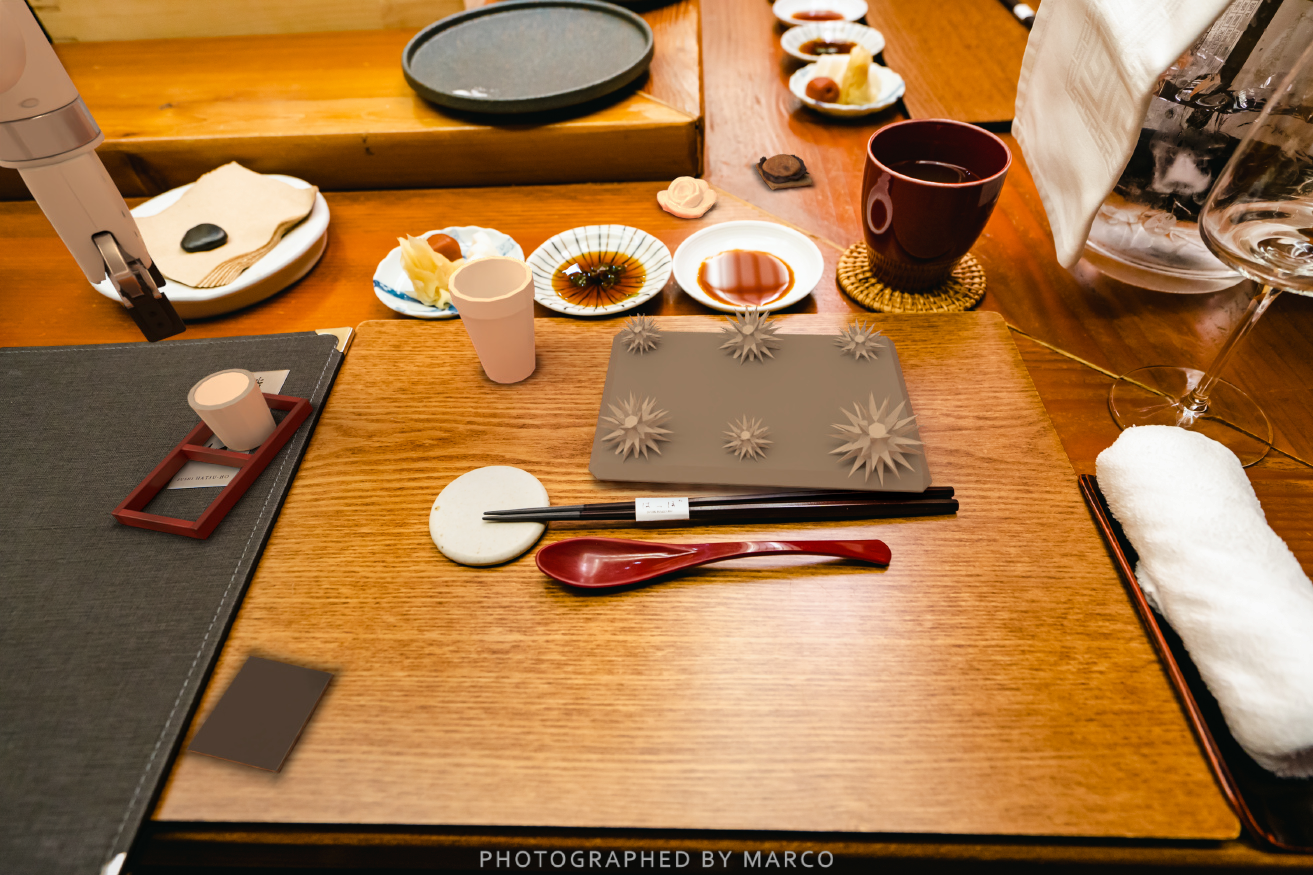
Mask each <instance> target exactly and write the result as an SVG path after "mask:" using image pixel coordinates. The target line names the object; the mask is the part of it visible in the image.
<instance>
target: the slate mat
mask: <svg viewBox="0 0 1313 875" xmlns="http://www.w3.org/2000/svg"><path fill="white" fill-rule="evenodd" d="M334 676H335V675H334V673H332V672H327V671H323V670H318V669H313V668H309V667H306V666H305V667H304V666H300V665H295V664H290V663H286V662H281V661H277V660H271V659H268V658H263V657H258V656H254V655H249V656H248V657H247V659H246V660H245V662H244V663H243V664H242V666H241V667H240V669H239V671H237V674H236V675H235V677H234V678H233V679H232V681H231V683H230V684H229V685H228V687H227V688H226V691H224V693H223V694H222V696H221V697H220V699H219V700H218V702H217V703H216V705H215V706H214V708H213V709H212V711H211V712H210V714H209V715H208V717H207V718H206V720H205V721H204V722H203V724H202V725H201V727H200V729H198V732H197V733H196V734H195V736H194V738H193V739H192V740H191V742H190V743H189V745H187V747H186V750H187V751H189V752H191V753H196V754H201V755H204V756H207V757H212V758H215V759H220V760H225V761H229V762H233V763H236V764H240V765H244V766H249V767H252V768H256V769H260V770H264V771H269V772H272V773H276V774H278V773H280V770H281V769H282V767H283V765H284V764H285V762H286V760H287V759H288V757H289V755H290V753H291V752H292V750H293V749H294V747H295V745H296V743H297V741H298V739H300V736H301V734H302V732H303V731H304V729H305V727H306V726H307V724H308V722H309V720H310V718H311V717H312V715H313V714H314V711H315V710H316V708H317V707H318V705H319V703H320V701H321V699H322V698H323V696H324V694H325V693H326V690H327V689H328V687H329V685H330V684H331V682H332V680H333V678H334Z"/></svg>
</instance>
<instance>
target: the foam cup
mask: <svg viewBox="0 0 1313 875" xmlns="http://www.w3.org/2000/svg"><path fill="white" fill-rule="evenodd" d="M447 285H448V286H447V288H448V292H449V295H450V298H451V301H452V305H453V306H454V308H455V309H456V310H457V312H458V314H459V317H460V319H461V322H462V323H463V326H464V328H465V330H466V332H467V335H468V337H469V339H470V341H471V343H472V346H473V348H474V351H475V353H476V355H477V357H478V359H479V362H480V364H481V366H482V368H483V370H484V372H485V374H486V376H487V377H488V379H489V380H490V381H494V382H496V383H498V384H514V383H518V382H522V381H524V380H525V379H527V378H528V377H530V376H531V375H532V374H533V372H534V371H535V370H536V335H535V307H534V306H535V304H534V299H535V297H536V284H535V280H534V275H533V269H532V268H531V266H529V265H528V263H526V262H525V261H524V260H521V259H519V258H515V257H513V256H504V255H503V256H502V255H501V256H500V255H490V256H485V257H480V258H476V259H472V260H469V261H468V262H466V263H464V264H462V265H460V266H458V267H457V268H456V269H455V271H454V272H452V274H450V276H449V278H448V284H447Z"/></svg>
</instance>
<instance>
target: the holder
mask: <svg viewBox="0 0 1313 875" xmlns="http://www.w3.org/2000/svg"><path fill="white" fill-rule="evenodd" d="M261 392H262V394H263V397H264V399H265V401H266V403H267V406H268V408H269V409H275V410H279V411H287V412H288V414H287V415H286V416H285V417H284V418H283V420H281V422H280V423H279V424H278V425H277V426H276V429H275V430H274V431H273V432H272V434H271V435H270V436H269V437H268V438H267V439H266V441H265V442H264V443H263V444H262V445H261V446H259V447H258V449H256V451H255V452H254V453H253V454H252V453H247V452H246V453H245V452H240V451H234V450H227V449H221V448H213V447H208V446H203V445H204V444H205V443H206V442H207V441H208V440H209V439H210V438H211V437H212V436H213V434H215V433H214V432H213V431H212V430H211V429H210V428H209V426H208V425H207V424H206V423H205V422H204V421H203V420H202V419H201V420H200V421H199V423H197V424H196V426H194V428H193V429H191V431H189V432H188V434H187V435H186V436H184V438H183V439H182V440H181V441H180V442H179V443H178V444H177V445H176V446H175V447H174V448H173V449H172V450H171V451H170V452H169V453H168V454H167V455H166V456H165V457H164V458H163V459H162V460H161V461H160V462H159V463H158V464H157V465H156V467H154V468H153V469H152V470H151V472H149V474H147V475H146V477H145V478H143V480H141V482H140V483H139V484H137V486H136V487H135V488H134V489H133V490H132V491H131V492H129V494H128V495H126V497H125V498H124V499H123V500H122V501H121V502H120V503H119V504H118V505H117V506H116V507H115V508H114V509H113V510H112V511H111V513H110V514H111V516H113V517H114V519H115V520H116V521H117V522H118V523H119V524H120V525H124V526H129V527H130V526H131V527H136V528H140V529H146V530H151V531H155V532H162V533H167V534H172V535H178V536H183V537H189V538H193V539H200V540H207V539H208V538H209V536H210V535H211V534H212V533H213V531H214V530H215V529H216V528H217V526H219V524H220V523H221V522H222V520H224V518H225V516H227V515H228V513H230V511H231V510H232V508H233V507H234V506H235V505H236V504H237V503H238V501H239V500H240V499H241V498H242V496H244V495H245V493H246V492H247V491H248V489H249V488H250V487H251V486H252V484H254V482H255V481H256V479H257V478H258V477H259V476H260V475H261V473H263V471H264V470H265V469H266V468H267V466H268V465H269V464H270V463H271V462H272V460H273V459H274V458H275V457H276V455H277V454H278V453H280V451H281V450H282V448H284V446H285V444H287V443H288V441H289V440H290V439H291V437H292V436H293V435H294V434H295V432H297V430H299V428H300V426H301V425H302V424H303V423H304V422H305V421H306V420H307V418H308V417H309V416H310V415H311V414H312V412H313V411H314V408H313V406H312V404H311V403H310V401H309V398H304V397H297V396H291V395H286V394H285V395H284V394H276V393H270V392H263V391H261ZM189 460H191V461H197V462H202V463H208V464H214V465H220V466H227V467H231V468H240V469H239V471H238V472H237V473H236V474H235V476H233V478H232V479H231V480H230V481H229V482H228V484H226V486H225V487H224V488H223V489H222V491H220V493H219V494H218V495H217V496H216V497H215V498H214V500H212V502H211V503H210V504H209V506H207V508H206V509H205V510H204V511H203V512H202V513H201V515H200V516H199V517H198V518H197V519H196V521H191V520H186V519H181V518H176V517H169V516H164V515H159V514H153V513H147V512H142V510H143V509H144V507H146V506H147V504H148V503H149V502H150V501H151V500H152V499H153V498H154V497H155V496H156V495H157V494H158V493H159V492H160V491H161V490H162V488H164V487H165V485H167V483H168V482H169V481H170V480H171V479H173V477H175V475H176V474H177V473H178V472H179V471H180V470H181V469H182V467H183V466H184V465H185V464H186V463H187V462H188V461H189Z"/></svg>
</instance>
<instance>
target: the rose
mask: <svg viewBox="0 0 1313 875" xmlns="http://www.w3.org/2000/svg"><path fill="white" fill-rule="evenodd" d="M717 199H718V196H717V193H716V191H715V190H714V189H711V188H710V186H709V183H708V182H707V181H706V180H705V179H701V178H694V177H692V176H678V177H677V178H675V179H674V180H672V181H671V183H670V184H669V185H668V188H667V189H664V190H659V191H657V194H656V200H657V202H658V205H660V206H661V208H662V210H663V211H665V212H668V213H669V214H672V215H674V216H675V217H677V218H682V219H699V218H701V217H703V216H704V215H705V213H706V212H708V211H709V210H710V209H711V208H712V207H713V205H715V203H716V202H717Z"/></svg>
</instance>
